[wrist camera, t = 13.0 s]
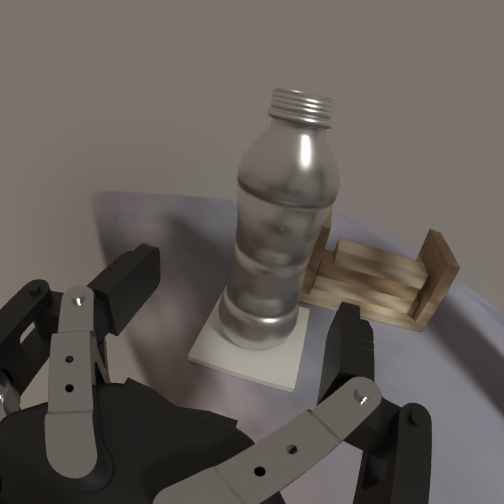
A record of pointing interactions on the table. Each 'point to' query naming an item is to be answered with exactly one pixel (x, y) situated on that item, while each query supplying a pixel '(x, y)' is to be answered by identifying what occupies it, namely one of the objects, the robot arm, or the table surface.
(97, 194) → the table surface
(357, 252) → the offcut rack
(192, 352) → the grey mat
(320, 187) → the plastic bottle
